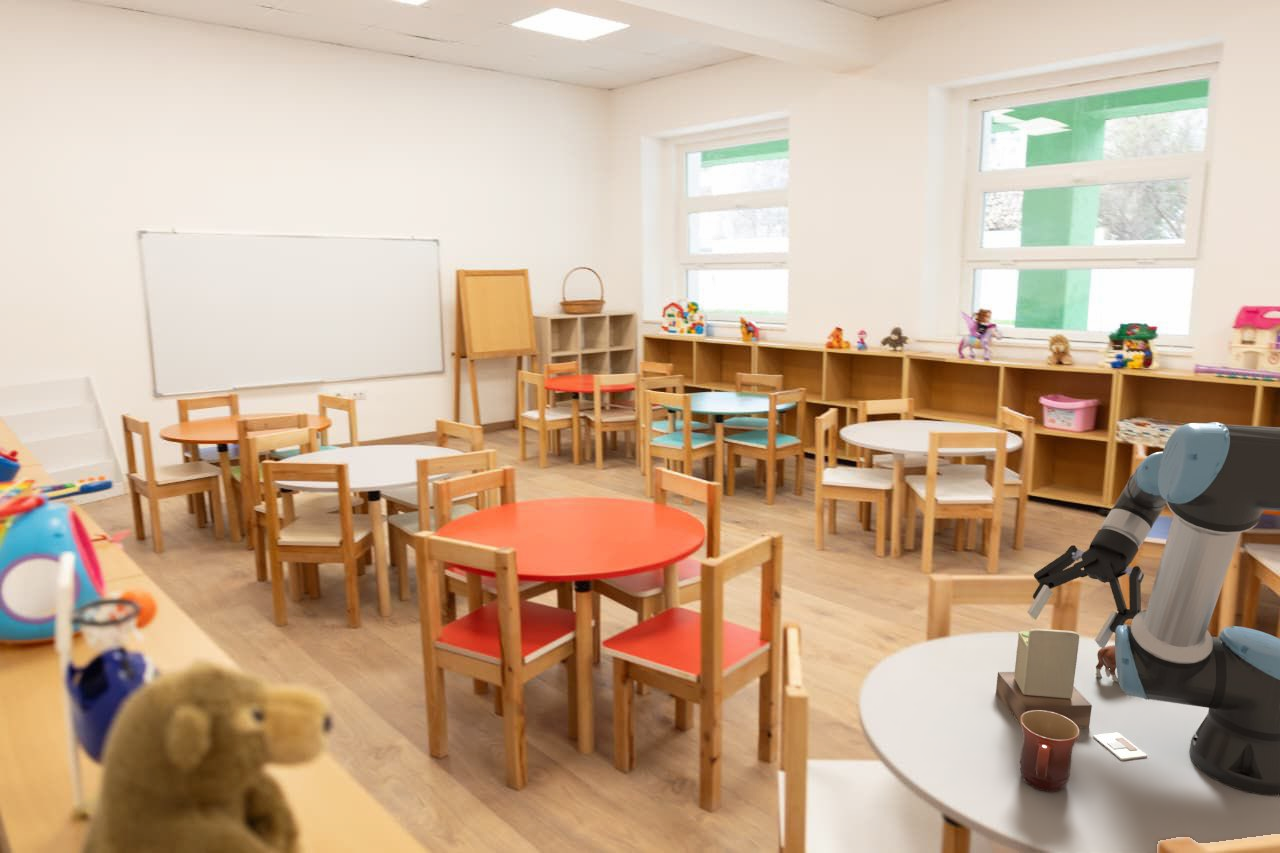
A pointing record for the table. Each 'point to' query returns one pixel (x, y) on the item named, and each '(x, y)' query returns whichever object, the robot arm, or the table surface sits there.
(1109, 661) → the bull figurine
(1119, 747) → the card
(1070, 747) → the mug
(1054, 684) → the toy sink
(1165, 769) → the table surface
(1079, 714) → the walnut block
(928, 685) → the table surface
